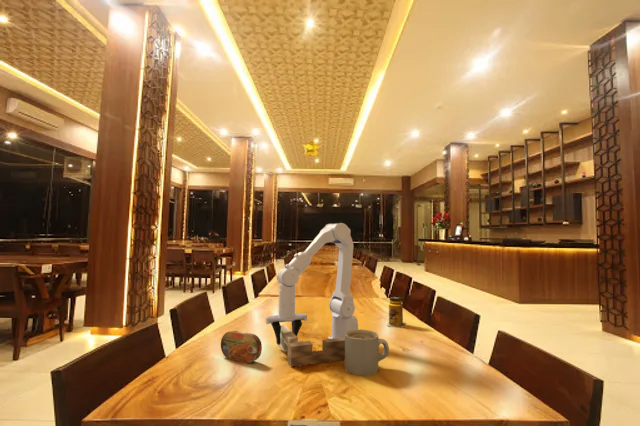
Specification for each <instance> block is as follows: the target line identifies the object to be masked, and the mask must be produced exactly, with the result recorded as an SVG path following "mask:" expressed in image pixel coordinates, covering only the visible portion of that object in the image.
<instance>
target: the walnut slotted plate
mask: <svg viewBox="0 0 640 426" xmlns="http://www.w3.org/2000/svg"><path fill="white" fill-rule="evenodd" d="M321 344H322V345H321V346H322V347H321V350H313V349H314V347H313V346H314V345H313V342H311V341H309V340H308V341H300V342H299V341H298V343H289V348H288V351H287V359H288V361H287V363H288V365H289V367H290V366H291V367H290V368H293V367H292V366H298V367H300V366H299V365H304V366H308V365H307V364H311V365H317V364H316V363H318V364H324V363H323V362H325V363H330V362H329V361H332V362H338V361H337V360H339V361H345V340H344V339H343V338H333V339H328V338H326V339H322V343H321Z"/></svg>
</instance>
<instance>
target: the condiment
mask: <svg viewBox="0 0 640 426" xmlns="http://www.w3.org/2000/svg"><path fill="white" fill-rule="evenodd" d="M403 308H404V305H403V302H402V298H401V297H397V296H392V297H389V304H388V323H387V324H386V326H387V327H392V328H405V325H406V322H405V321H404V315H403V314H404V311H403V310H404V309H403Z"/></svg>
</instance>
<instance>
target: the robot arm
mask: <svg viewBox="0 0 640 426" xmlns="http://www.w3.org/2000/svg"><path fill="white" fill-rule="evenodd" d="M331 242H333V244H335V246H336V247H337V248H338V256H337V257H338V259H337V261H338V262H337V269H336V270H337V272H336V282H335V290H333V292H332V293H331V294H332V295H331V299H330V301H329V303H328V307H329V310H330V311H331V321H332V322H331V336H328V337H327V339H333V338H343V339H344V340H345V333H346V332H347V331H349V330H357V329H359V321H358V318H357V317H356V316H355V315H354V313H355V311H356V307H355V303H354V295H353V294H352V292H351V280H352V271H353V269H352V268H353V259H354V258H353V255H354V242H353V238H352V236H351V228H350V227H348V225H347V224H345V223H343V222H339V223H327V224H325V226H324V227H323V228H322V229H320V231H319V233H318V234H317V235H316V236H315V237H314V239H313V240H312V241H311V243H310V244H309V245H308V247H307V248H306V249H305V250H304V251H300V252H298V253H295V254H294V255H293V258H292V259H291V261H290V262H289V263H286V264H285V267H284V268H281V269H280V270H279V271H278V273H277V274H278V275H276V280H277V282H278V283H279V284H278V285H279V286H278V287H279V289H278V314H276V315H271V316H265V319H264V321H265V324H266V325H270V324H271V326H272V329H273V331H274V335H275V340H276V341H277V343H276V344H277V345H278V346H279V345H280V332H281V326H280V325H281V323H289V322H291V332H292V333H294V334H295V335H296V336H297V337H298V335H299V332H300V330H301V328H302V326H303V322H302V321H304V322H306V321H308V314H306V313H296V284H297V283H298V282H299V279H300V278H299V276H300V275H302V273H303V272H304V271H305V270H306V269H307V268H308V266H310V265H311V262H312V257H313V256H314V255H315V254H316V253H317V252H318V251H319V250H320V249H321V248H322V247H323V246H324V245H326V244H328V243H331Z"/></svg>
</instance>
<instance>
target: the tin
mask: <svg viewBox="0 0 640 426" xmlns="http://www.w3.org/2000/svg"><path fill="white" fill-rule="evenodd" d="M262 345H263V344H262V341H261V339H260V338H259V336H258V335H257V334H255V333H250V332H244V331H237V330H232V331H227V332H225V333H224V334H223V335H222V337H221V340H220V349H221V353H222V354H223V356H224V357H225V358H226V359H228V360H231V361H235V362H241V363H245V364H251V363H253V362H255V361H257V360H258V359H259V358H260V357H261V355H262V350H263V349H262V348H263V347H262Z"/></svg>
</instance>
